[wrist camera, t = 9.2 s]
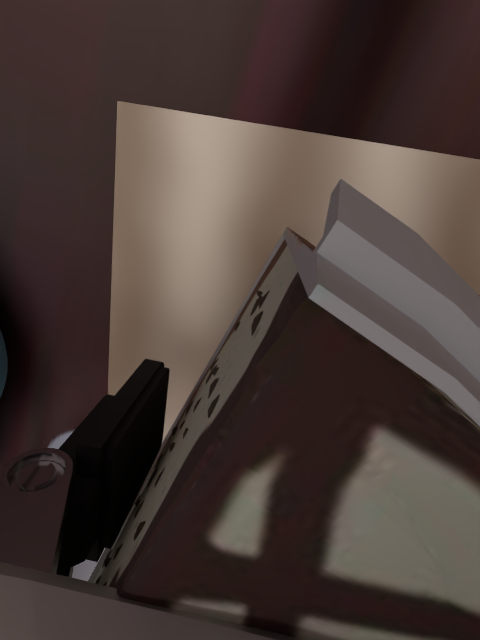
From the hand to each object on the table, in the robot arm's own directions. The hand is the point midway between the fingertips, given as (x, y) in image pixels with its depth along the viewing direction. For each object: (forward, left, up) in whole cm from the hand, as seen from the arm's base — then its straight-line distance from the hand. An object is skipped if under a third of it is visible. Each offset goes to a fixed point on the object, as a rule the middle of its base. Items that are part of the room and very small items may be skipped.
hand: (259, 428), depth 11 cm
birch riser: (0, 0, -9) cm, 9 cm away
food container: (-1, 0, -3) cm, 3 cm away
